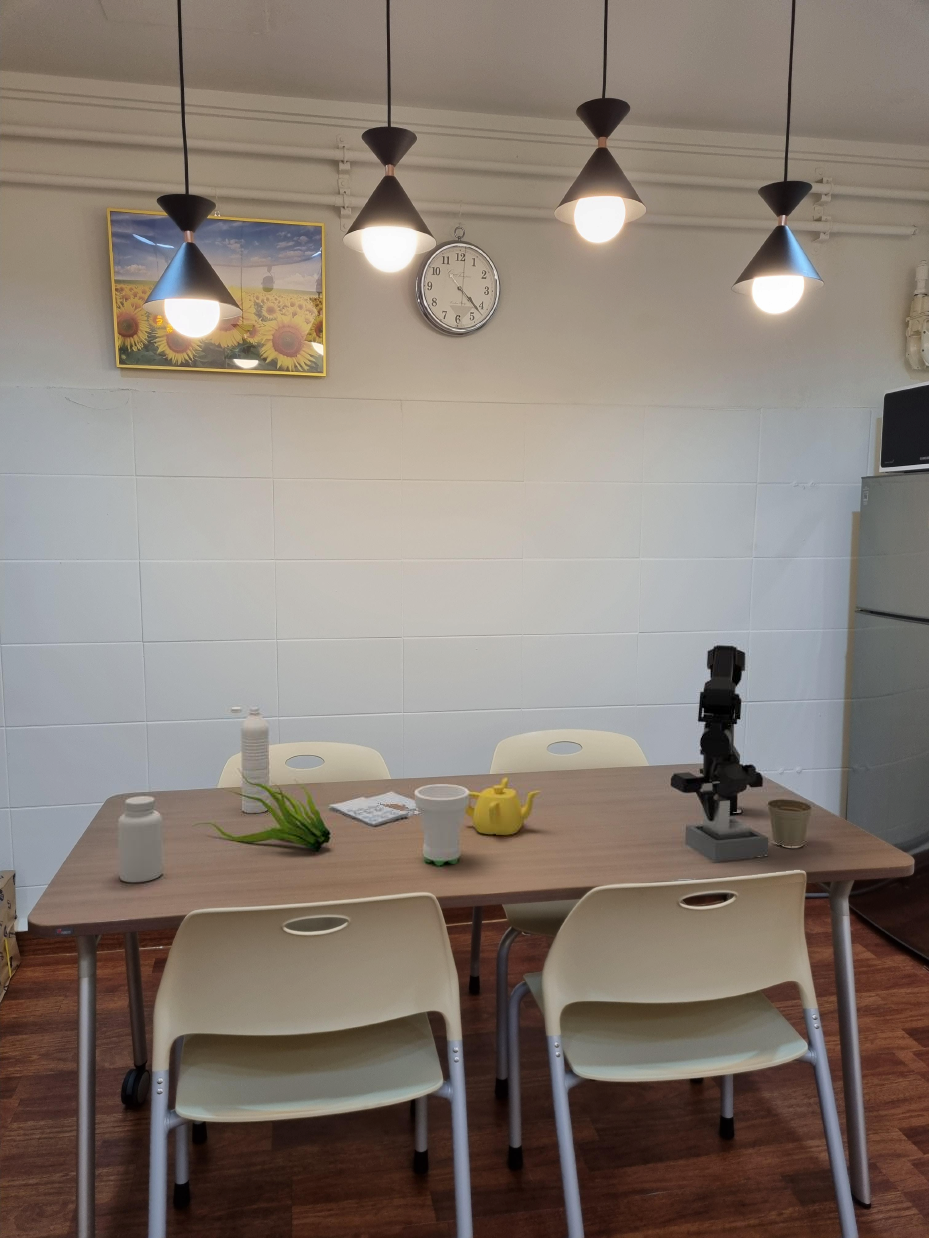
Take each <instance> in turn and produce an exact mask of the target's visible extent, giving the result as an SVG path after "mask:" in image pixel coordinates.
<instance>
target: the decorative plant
mask: <svg viewBox="0 0 929 1238" xmlns="http://www.w3.org/2000/svg"><path fill="white" fill-rule="evenodd" d="M237 770H238V771H239V772H240V774H241V777H242V776H243V775H242V770H241V769H240V768H239V767H238V768H237ZM243 777H244V776H243ZM244 778H245V777H244ZM245 780H246V781H247V782H248V783H250V784H251V785H256V786H259V787H261V788H263V789H265V790H266V791H267V792H268V793H269V794H270V797H271V798H272V799H273V800H274V802H275V803H276V804H277V806H278V809H279V811H280V813H279V812H278V811H277V809H276V808H275V807H273V806H272V805H271V804H270V805H269V804H268V803H266V802H265V801H264V800H262V799H261V798H256V797H251V796H247V795H243V794H242V793H239V792H236V791H232V790H228V789H225V788H222V787H221V788H220V789H221V790H225V791H228V792H231V793H234V794H236V795H238V796H241V797H242V796H244V797H247V798H249V799H253V800H257V801H260V802H261V803H262V804H263V805H264V807H265V808H266V809H267V810H268V812H269V814H271V816H272V817H273V819H274V820H275V822H276V823H277V825H279V826H272V827H267V826H266V825H265V824H264V823H263V822H262V825H263V826H264V827H265V828H266V829H267V830H264V831H259V832H255V833H251V834H247V835H241V836H234V835H233V834H230V833H228V832H225V831H224V830H223V829H222V828H220V827H219V826H218V824H215V823H212V822H200V823H197V824H194V825H192V827H195V826H198V825H201V824H202V825H211V826H214V827H215V829H217V831H218V832H219V833H220V834H221V835H222V836H224V837H226V838H228V839H230V840H232V841H233V842H243V843H251V844H252V843H253V844H254V843H259V842H265V841H270V840H288V841H291V842H293V843H295V844H299V845H301V846H305V847H307V848H309V849H311V850H313V851H315V852H320V850H321V849H322V847H323V845H324V844H328V843H329V842H330V840H331V836H330V835H331V832H330V830H329V828H328V827H327V826H326V825H325V823H324V821H323V819H322V816H321V813H320V811H319V809H317V808H316V806H315V803H314V801H313V799H312V796H311V794H310V792H309V791H308V790H307V788H306V787H304V786H303V785H301V784H299V783H298V781H297V780H296V779H294V781H295V783H296V784H297V785H298V786H300V787H301V788H302V789H303V790H304V792H305V794H306V797H307V806H308V809H307V807H306V806H304V804H303V803H302V802H301V801H300V800H298V799H296V798H294V797H291V796H289V795H287V794H285V793H284V792H283V791H282V789H281V787H279V785H277V784H276V783H274V782H273V781H272V780H271V781H270V782H271V783H273V784H274V785H275V786H276V787H277V789H278V790H279V791H276V790H273V789H272V788H270V786H269V787H267V786H266V785H265V784H264V785H265V786H264V785H262V784H259V783H251V782H249V781H248V780H247V779H246V778H245ZM278 795H279V796H278ZM295 800H296V801H297V802H296V801H295ZM286 801H288V803H289V804H290V806H291V807H292V809H293V810H292V809H291V808H290V807H289V805H288V804H287V803H286ZM298 802H299V803H298ZM299 804H300V805H299ZM308 810H309V811H310V813H309V812H308ZM303 813H304V814H303ZM280 814H281V815H280ZM269 828H270V829H269Z"/></svg>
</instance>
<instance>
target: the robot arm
mask: <svg viewBox="0 0 929 1238" xmlns="http://www.w3.org/2000/svg"><path fill="white" fill-rule="evenodd" d="M706 654H707V655H706V668H707V670H710V673H709V674H710V675H709V678H710V679H709V680H707V681H706V682H704V686H703V691H700V692H699V702H698V713H697V714H698V716H697V722H698V723H704V724H703V732H702V735H701V737H700V740H699V746H700V749H699V755H701V756H703V758H702V759H703V760H702V761H703V763H702V768H699V774H700V775H702V776H697V775H696V774H693V773H690V772H674V773H673V774H672V775H671V777H670V787H672V788H673V789H675V790H677V791H679V792H681V793H684V794H692V793H695V794H696V796H697V797H698V800H699V802H700V803H701V806H702V808H703V809H704V811H705V814H706V816H707V819H708V820H709V821H712V819H713V798H714V796H715V795H716V794H718V795H720V796H722V797H724V798H726V799H728V800H730V813H733V812H737V809H738V798H739V797H738V794H740V793H743V792H744V791H747V787H748V786H749V788H762V787H763V786H764V777H763V775H762V773H761V772H759V771H757V768H756V766H755V765H753V764H744V765H743V763H741V755H740V753H739V751H738V750H737V748H736V746H735V743H734V742H735V741H734V740H735V739H734V738H735V725H737V724H738V720H739V721H740V720H741V718H742V717H741V714H742V699H741V697H740V694H739V693H736V690H737V689H736V688H737V687H738V685H739V684H740V682H741V681H742V677H743V672H745V671H746V652H745V651H742V650H740V649H737V646H734V645H721V644H719V645H718V644H717V645H713V648H711V649H709V650H707V653H706ZM703 809H702V810H703Z"/></svg>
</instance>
